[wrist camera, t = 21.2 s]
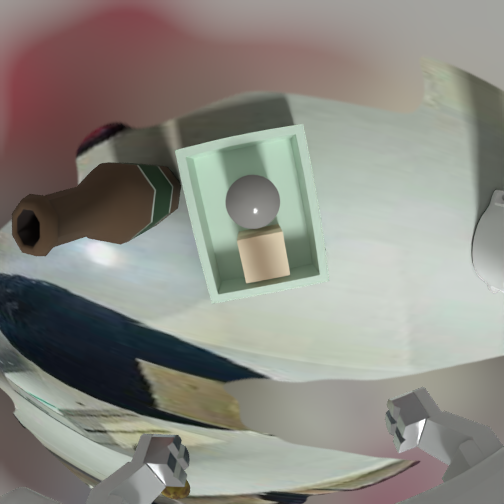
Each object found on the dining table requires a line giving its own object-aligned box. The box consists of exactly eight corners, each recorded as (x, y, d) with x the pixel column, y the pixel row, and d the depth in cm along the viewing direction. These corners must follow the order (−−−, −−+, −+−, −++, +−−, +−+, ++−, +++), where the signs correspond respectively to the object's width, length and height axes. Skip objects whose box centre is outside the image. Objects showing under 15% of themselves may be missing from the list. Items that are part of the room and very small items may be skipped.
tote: (296, 130, 34) (302, 123, 29) (320, 267, 38) (329, 281, 33) (185, 153, 34) (175, 150, 29) (216, 287, 39) (212, 303, 34)
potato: (162, 448, 49) (154, 476, 41) (198, 476, 52) (194, 502, 44) (136, 453, 50) (127, 478, 42) (172, 479, 53) (166, 504, 45)
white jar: (225, 180, 35) (219, 182, 27) (267, 170, 34) (273, 169, 27) (236, 221, 36) (233, 234, 28) (277, 211, 36) (285, 221, 28)
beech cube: (278, 223, 36) (282, 231, 31) (285, 261, 37) (290, 274, 32) (238, 231, 36) (236, 240, 31) (247, 269, 38) (246, 283, 33)
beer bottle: (194, 181, 35) (98, 199, 12) (165, 233, 37) (57, 318, 14) (145, 152, 34) (10, 137, 11) (118, 204, 36) (-18, 249, 13)
